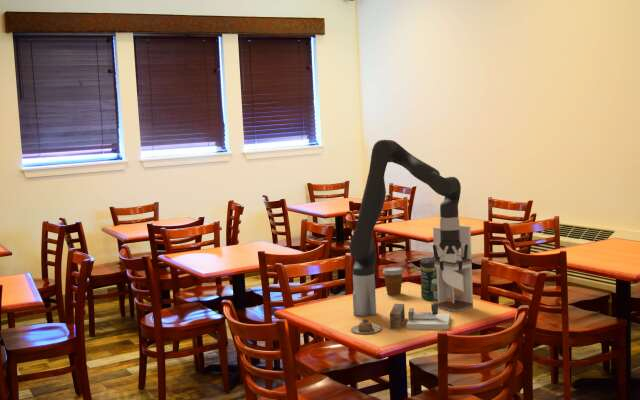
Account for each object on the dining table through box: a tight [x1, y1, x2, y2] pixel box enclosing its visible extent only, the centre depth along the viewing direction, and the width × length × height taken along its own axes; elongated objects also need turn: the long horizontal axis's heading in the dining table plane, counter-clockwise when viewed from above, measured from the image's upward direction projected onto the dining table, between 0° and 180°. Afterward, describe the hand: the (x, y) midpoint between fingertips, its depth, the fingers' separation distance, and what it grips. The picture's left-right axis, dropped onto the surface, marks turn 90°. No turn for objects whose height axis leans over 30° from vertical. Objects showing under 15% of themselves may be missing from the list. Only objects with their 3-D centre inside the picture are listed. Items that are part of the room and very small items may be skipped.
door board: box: [406, 307, 451, 330], centre depth 310 cm, size 16×16×6 cm
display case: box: [432, 224, 474, 313], centre depth 331 cm, size 11×11×35 cm
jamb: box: [389, 303, 406, 330], centre depth 313 cm, size 4×16×6 cm, turn 168°
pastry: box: [350, 318, 382, 335], centre depth 305 cm, size 12×12×5 cm
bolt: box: [412, 302, 439, 319], centre depth 310 cm, size 11×3×6 cm, turn 78°
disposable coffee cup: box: [382, 266, 404, 297], centre depth 362 cm, size 10×10×12 cm
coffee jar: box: [419, 256, 438, 302], centre depth 349 cm, size 10×8×19 cm
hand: (451, 270), depth 306 cm, fingers open, 6 cm apart
